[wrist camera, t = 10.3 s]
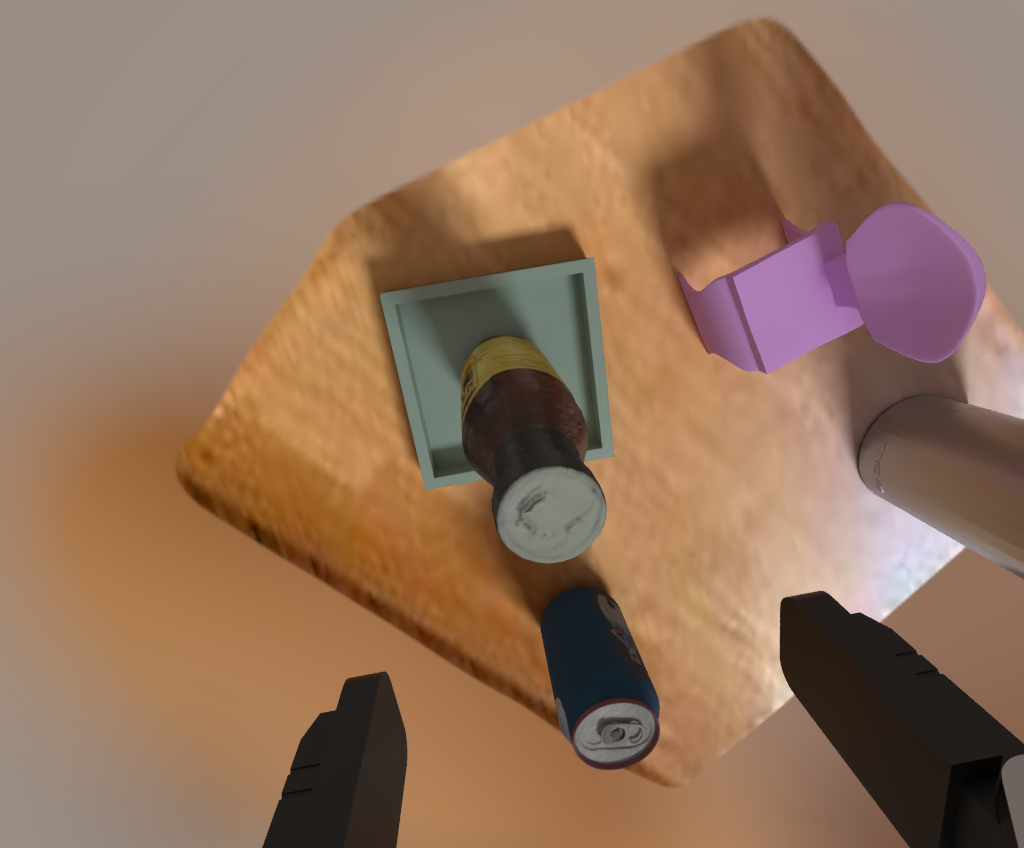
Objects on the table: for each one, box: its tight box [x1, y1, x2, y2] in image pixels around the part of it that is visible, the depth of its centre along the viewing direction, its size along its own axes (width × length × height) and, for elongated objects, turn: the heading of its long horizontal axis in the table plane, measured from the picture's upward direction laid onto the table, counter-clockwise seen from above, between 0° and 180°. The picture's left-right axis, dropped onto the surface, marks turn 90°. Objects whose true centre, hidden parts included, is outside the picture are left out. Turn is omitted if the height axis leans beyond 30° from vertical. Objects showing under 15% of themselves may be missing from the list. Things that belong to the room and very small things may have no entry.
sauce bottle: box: [461, 335, 607, 563], centre depth 27 cm, size 7×6×20 cm
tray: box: [379, 258, 614, 490], centre depth 36 cm, size 14×14×2 cm
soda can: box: [541, 586, 660, 770], centre depth 38 cm, size 7×7×12 cm
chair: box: [678, 202, 986, 374], centre depth 29 cm, size 8×9×15 cm
